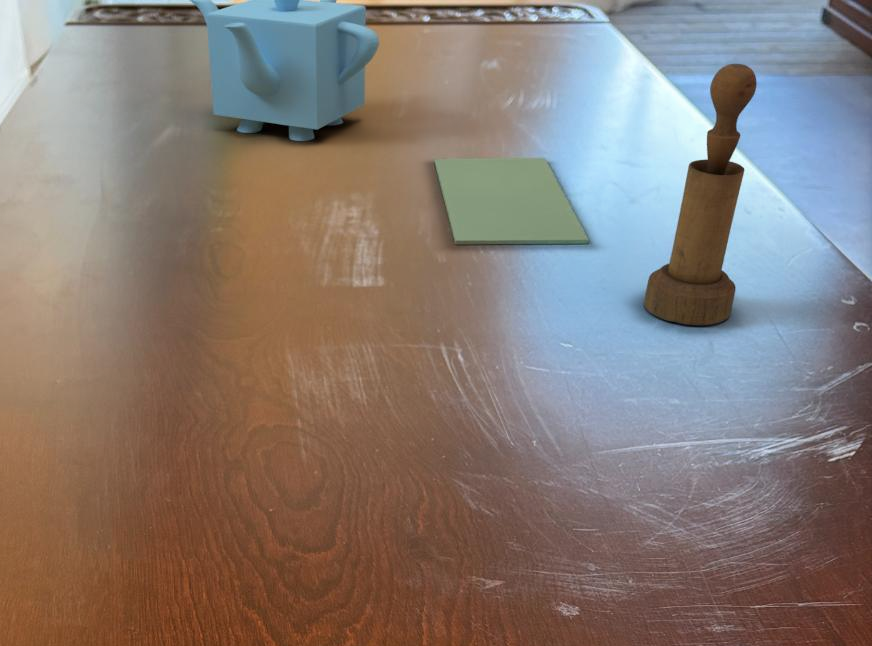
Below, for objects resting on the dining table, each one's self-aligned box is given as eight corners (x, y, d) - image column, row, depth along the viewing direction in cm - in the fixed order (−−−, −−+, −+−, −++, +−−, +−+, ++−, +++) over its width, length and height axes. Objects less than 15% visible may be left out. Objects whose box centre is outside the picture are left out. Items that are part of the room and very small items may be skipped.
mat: (544, 161, 113) (545, 157, 113) (588, 243, 94) (589, 239, 93) (434, 162, 113) (434, 158, 113) (455, 244, 94) (455, 240, 93)
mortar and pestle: (735, 300, 84) (793, 59, 73) (723, 333, 79) (783, 80, 68) (652, 287, 86) (696, 51, 75) (635, 317, 81) (680, 71, 70)
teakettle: (387, 140, 120) (391, -3, 111) (228, 155, 115) (219, 8, 106) (337, 99, 134) (338, -29, 125) (195, 111, 130) (184, -21, 121)
